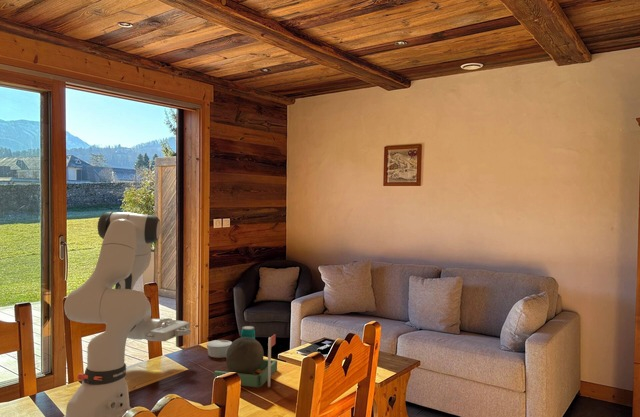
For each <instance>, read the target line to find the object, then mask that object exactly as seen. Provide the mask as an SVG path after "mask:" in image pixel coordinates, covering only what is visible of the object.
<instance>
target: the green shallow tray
mask: <svg viewBox="0 0 640 417" xmlns="http://www.w3.org/2000/svg"><path fill="white" fill-rule="evenodd" d="M275 345H276V334H273V335H271V337H270V336H269V337H268V343H267V346H268V347H267V348H268V349H267V359H265V358H263V361H262V363H261V365H260V367H259V368H258V369H260V370H259V371H261V372H260V373H259V374H252V375H251V374H242V373H238V375H239V376H240V378H241V381H242V385H241V386H243V387H251V388H261V387H262V386H264V384H266V382H267V388H271V377H272V376H273V375H274V374H275V373H276V372H277V371H278V360H276V359H275V360H274V359H272V347H273V346H275ZM228 372H229V371H223V370H221V371H220V370H215V371H214V372H213V373H214V376H213V377H214V378H215V377H217V376H219V375H222V374H225V373H228ZM214 378H213V379H214Z"/></svg>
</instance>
